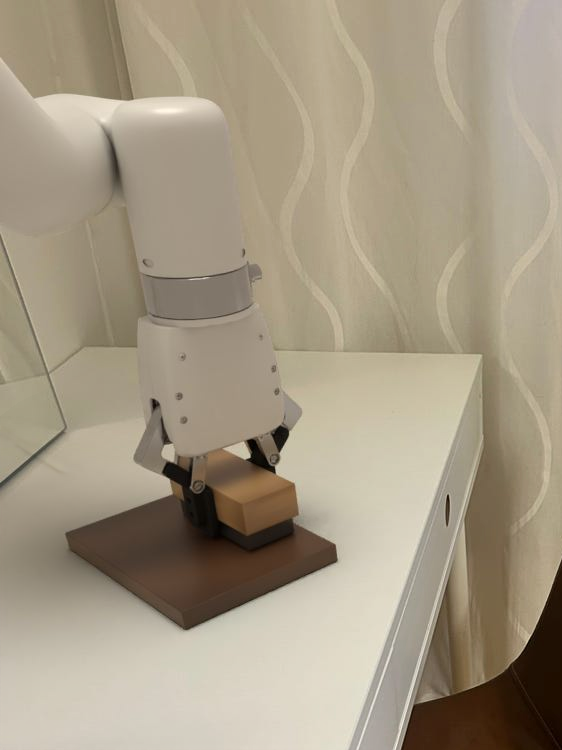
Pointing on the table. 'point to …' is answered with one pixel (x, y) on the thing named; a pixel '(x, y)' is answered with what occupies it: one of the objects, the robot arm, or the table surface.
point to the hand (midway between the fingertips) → (236, 516)
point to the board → (192, 560)
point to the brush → (247, 500)
